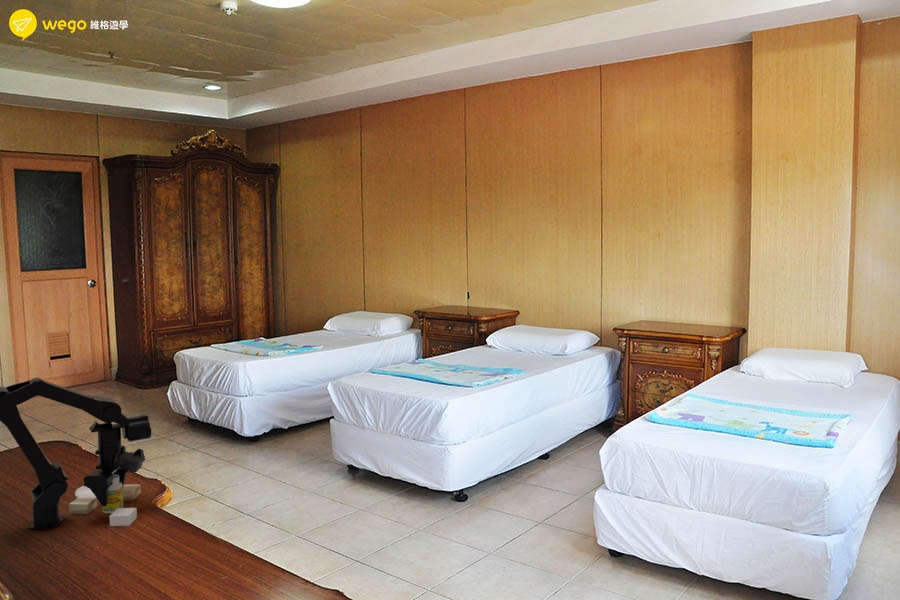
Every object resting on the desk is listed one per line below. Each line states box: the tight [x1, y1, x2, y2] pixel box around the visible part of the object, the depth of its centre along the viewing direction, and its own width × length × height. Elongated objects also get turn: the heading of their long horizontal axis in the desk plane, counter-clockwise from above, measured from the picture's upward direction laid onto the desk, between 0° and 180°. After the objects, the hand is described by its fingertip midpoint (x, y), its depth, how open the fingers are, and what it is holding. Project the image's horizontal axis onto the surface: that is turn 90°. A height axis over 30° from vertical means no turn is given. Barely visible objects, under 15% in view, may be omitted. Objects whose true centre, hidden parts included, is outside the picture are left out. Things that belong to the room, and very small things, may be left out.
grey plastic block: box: [109, 507, 138, 527], centre depth 180 cm, size 5×5×3 cm
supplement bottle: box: [101, 474, 124, 514], centre depth 187 cm, size 5×5×10 cm
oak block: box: [123, 484, 141, 501], centre depth 196 cm, size 5×5×3 cm
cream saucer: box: [74, 485, 96, 499], centre depth 200 cm, size 12×12×1 cm
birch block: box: [68, 497, 98, 515], centre depth 187 cm, size 5×5×3 cm
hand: (112, 499), depth 187 cm, fingers open, 9 cm apart
